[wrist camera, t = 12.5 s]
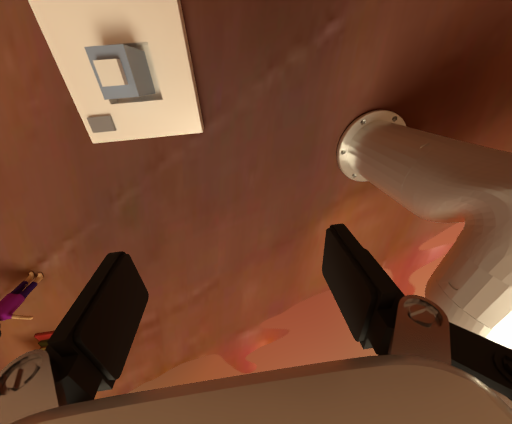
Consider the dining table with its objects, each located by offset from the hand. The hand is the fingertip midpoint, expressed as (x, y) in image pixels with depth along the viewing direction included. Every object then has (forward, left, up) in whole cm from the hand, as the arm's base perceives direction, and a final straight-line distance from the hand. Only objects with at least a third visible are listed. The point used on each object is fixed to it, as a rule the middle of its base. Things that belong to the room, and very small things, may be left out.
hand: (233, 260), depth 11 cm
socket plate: (+12, -9, -30) cm, 34 cm away
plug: (+12, -9, -30) cm, 33 cm away
